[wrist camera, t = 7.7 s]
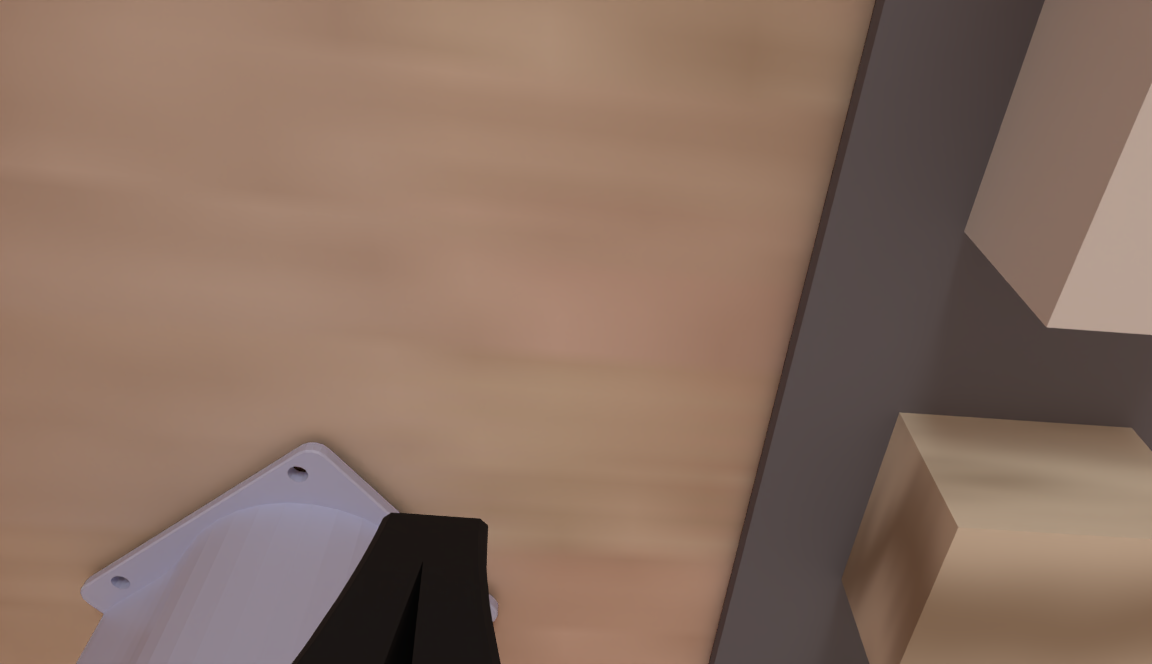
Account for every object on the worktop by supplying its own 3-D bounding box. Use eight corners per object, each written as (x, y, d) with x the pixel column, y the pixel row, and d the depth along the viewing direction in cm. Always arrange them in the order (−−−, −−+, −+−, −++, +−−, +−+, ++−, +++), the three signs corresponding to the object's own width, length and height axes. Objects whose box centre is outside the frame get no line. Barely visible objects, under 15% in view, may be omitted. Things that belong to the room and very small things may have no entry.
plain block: (1045, 591, 26) (1117, 715, 22) (841, 579, 25) (882, 703, 22) (1131, 427, 22) (1231, 543, 19) (899, 412, 22) (958, 527, 19)
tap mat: (999, 810, 32) (1005, 823, 32) (675, 795, 32) (677, 809, 31) (1538, -82, 17) (1564, -79, 16) (911, -143, 16) (921, -141, 16)
